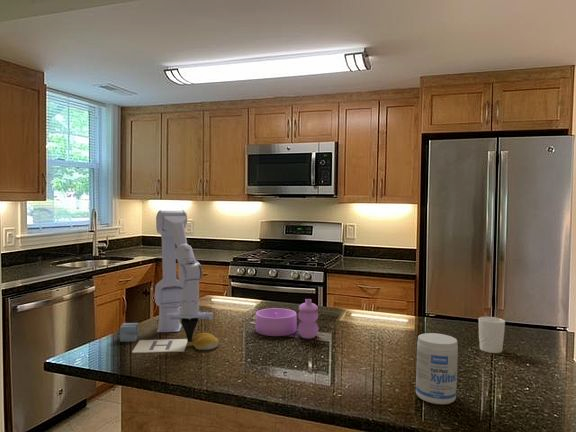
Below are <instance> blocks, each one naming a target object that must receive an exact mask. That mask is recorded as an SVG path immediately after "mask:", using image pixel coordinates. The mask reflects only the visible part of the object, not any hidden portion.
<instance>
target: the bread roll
mask: <svg viewBox="0 0 576 432" xmlns="http://www.w3.org/2000/svg"><path fill="white" fill-rule="evenodd" d="M219 343H220V342H219V339H218V337H216V336H214V335H213V334H212V333H208V332H200V333H198V334H197V335H196V336H194V337H192V342H191V344H192V346H193V347H194V348H195V349H196V350H199V351H200V350H201V351H206V350H207V351H208V350H209V351H210V350H213V349H216V348H217V347H218V346H219Z"/></svg>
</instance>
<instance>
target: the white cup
mask: <svg viewBox="0 0 576 432" xmlns="http://www.w3.org/2000/svg"><path fill="white" fill-rule="evenodd" d="M505 326H506V320H505V319H503V318H499V317H495V316H480V317H478V341H479V349H480V350H481V351H483V352H485V353H491V354H501V353H502V352H503V344H504V338H505V330H506V329H505Z"/></svg>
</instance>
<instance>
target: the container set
mask: <svg viewBox="0 0 576 432" xmlns="http://www.w3.org/2000/svg"><path fill="white" fill-rule="evenodd" d="M304 300H305V302H303V303H301V304H299V306H298V310H299V311H298V313H297V312H296V310H293V309H290V308H281V307H272V308H271V307H270V308H263V309H260V310H256V311H255V319H254V321H255V325H254V327H255V330H254V331H255V332H256V333H257V334H259V335H263V336H267V337H268V336H270V337H284V336H291V335H293V334H295V333H296V332H297V333H298V335H299V336H300V337H301V338H304V339H313V338H315V337H316V336H317V335H318V334H319V331H320V330H319V329H320V328H319V326H318V323H317V322H316V321H317V320H319V313H318V309H319V307H318V306H317V304H315V303H313V302H312V299H311V298H305V299H304ZM297 318H298V319H299V320H300V322H299V324H297V320H298V319H297Z"/></svg>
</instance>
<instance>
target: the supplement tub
mask: <svg viewBox="0 0 576 432" xmlns="http://www.w3.org/2000/svg"><path fill="white" fill-rule="evenodd" d="M416 345H417V346H416V373H415V376H416V377H415V394H416V396H417V397H418V398H419V399H421V400H422V401H425V402H427V403H430V404H434V405H449V404H451V403H453V402H455V401H456V399H457V383H458V380H457V379H458V360H459V359H458V358H459V357H458V356H459V351H458V350H459V349H458V347H459V346H458V340H457V338H456V337H453V336H451V335H448V334H442V333H435V332H428V333H427V332H425V333H421V334H419V335H418V337H417V344H416Z"/></svg>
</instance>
